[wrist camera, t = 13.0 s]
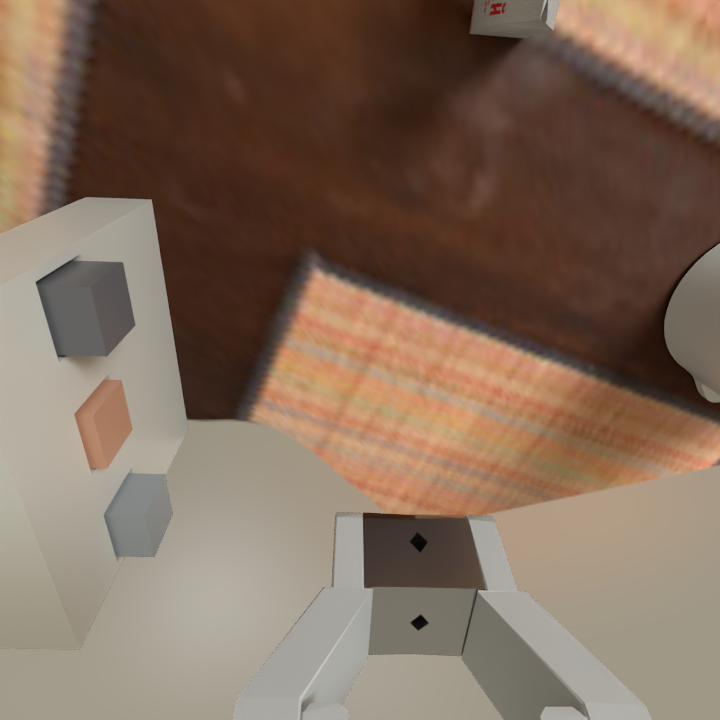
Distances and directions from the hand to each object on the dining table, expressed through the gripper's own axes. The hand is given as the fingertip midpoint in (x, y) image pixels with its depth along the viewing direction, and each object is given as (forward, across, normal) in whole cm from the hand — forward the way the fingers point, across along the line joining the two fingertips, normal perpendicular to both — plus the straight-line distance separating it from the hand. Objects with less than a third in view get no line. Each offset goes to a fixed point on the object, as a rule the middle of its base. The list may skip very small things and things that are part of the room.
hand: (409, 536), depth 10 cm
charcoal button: (+21, -16, -4) cm, 27 cm away
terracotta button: (+21, -18, -12) cm, 30 cm away
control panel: (+33, -19, -12) cm, 40 cm away
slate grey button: (+21, -16, -20) cm, 33 cm away
